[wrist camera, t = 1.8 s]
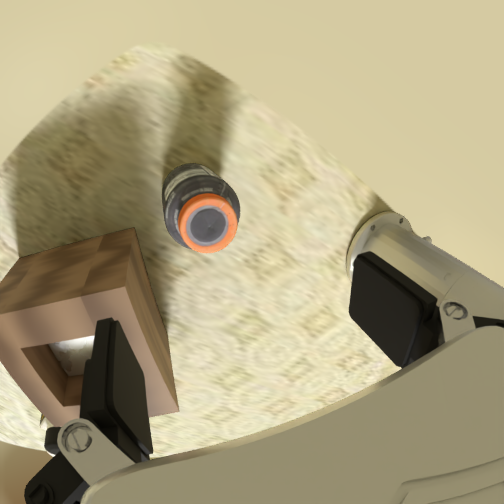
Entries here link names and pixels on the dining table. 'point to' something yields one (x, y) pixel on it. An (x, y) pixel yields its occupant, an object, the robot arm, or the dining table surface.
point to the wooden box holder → (81, 320)
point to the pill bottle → (199, 208)
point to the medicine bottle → (50, 436)
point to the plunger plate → (73, 354)
